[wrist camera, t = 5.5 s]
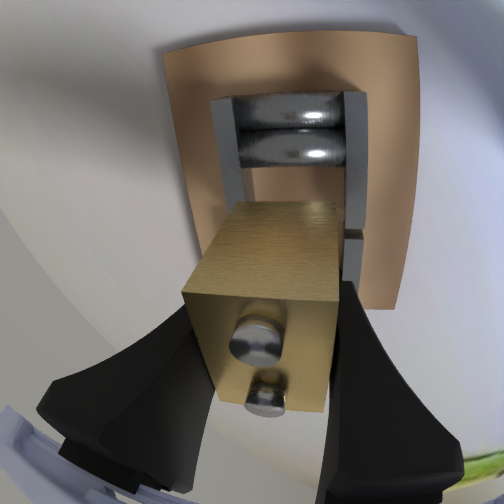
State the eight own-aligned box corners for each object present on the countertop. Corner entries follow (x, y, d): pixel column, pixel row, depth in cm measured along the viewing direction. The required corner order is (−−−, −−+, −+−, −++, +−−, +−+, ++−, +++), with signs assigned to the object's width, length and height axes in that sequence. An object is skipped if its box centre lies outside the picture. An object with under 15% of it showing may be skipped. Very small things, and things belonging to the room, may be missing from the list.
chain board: (411, 38, 11) (416, 36, 10) (392, 299, 20) (394, 309, 19) (170, 54, 14) (162, 54, 13) (217, 292, 23) (213, 301, 22)
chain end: (361, 90, 12) (367, 92, 11) (361, 211, 16) (364, 229, 14) (223, 96, 14) (209, 100, 12) (239, 210, 18) (230, 227, 16)
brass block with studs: (335, 201, 10) (338, 322, 6) (330, 309, 13) (321, 428, 8) (236, 201, 11) (170, 308, 6) (252, 305, 14) (215, 415, 9)
